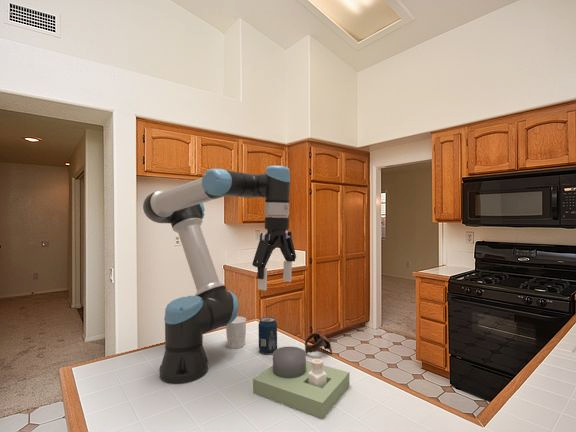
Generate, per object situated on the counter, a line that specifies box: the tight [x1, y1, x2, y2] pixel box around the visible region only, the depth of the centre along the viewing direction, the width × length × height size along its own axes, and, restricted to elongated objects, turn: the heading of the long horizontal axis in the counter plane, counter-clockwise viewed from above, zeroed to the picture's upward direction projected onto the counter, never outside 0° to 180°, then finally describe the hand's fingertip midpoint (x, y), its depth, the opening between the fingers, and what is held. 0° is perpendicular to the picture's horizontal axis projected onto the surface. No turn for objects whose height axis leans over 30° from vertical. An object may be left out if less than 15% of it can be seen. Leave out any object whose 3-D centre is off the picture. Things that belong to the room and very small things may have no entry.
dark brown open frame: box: [304, 330, 333, 354], centre depth 118 cm, size 12×10×8 cm
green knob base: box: [252, 346, 350, 420], centre depth 92 cm, size 22×18×9 cm
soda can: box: [258, 316, 278, 355], centre depth 118 cm, size 7×7×12 cm
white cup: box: [225, 316, 247, 349], centre depth 124 cm, size 8×8×10 cm
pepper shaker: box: [308, 358, 327, 388], centre depth 89 cm, size 4×4×10 cm
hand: (275, 285), depth 97 cm, fingers open, 13 cm apart
